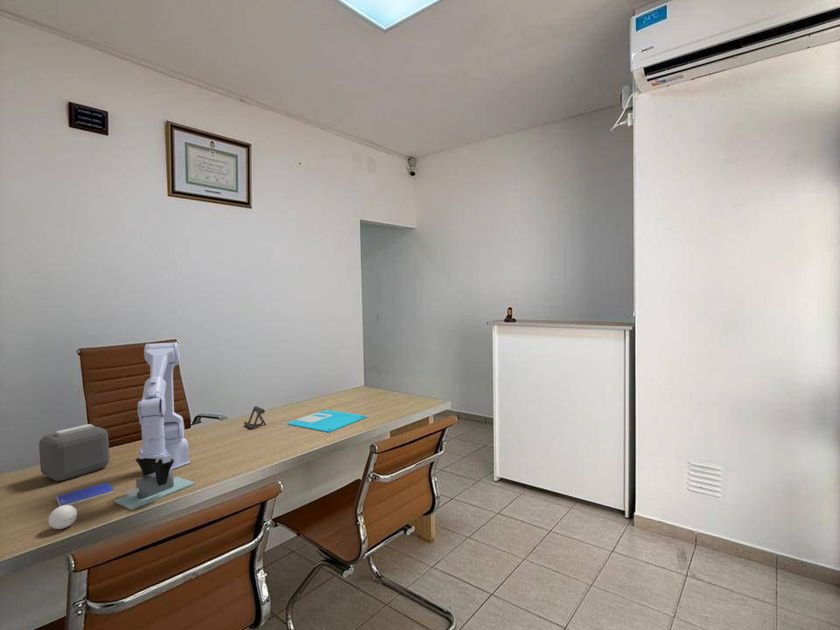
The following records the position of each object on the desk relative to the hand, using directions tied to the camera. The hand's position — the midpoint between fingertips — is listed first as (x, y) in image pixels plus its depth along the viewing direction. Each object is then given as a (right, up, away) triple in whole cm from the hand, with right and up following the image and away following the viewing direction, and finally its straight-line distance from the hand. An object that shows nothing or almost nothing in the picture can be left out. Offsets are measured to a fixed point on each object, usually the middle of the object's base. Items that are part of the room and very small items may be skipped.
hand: (155, 481), depth 124 cm
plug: (-1, -3, -1) cm, 3 cm away
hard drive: (-21, -5, 0) cm, 22 cm away
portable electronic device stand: (+4, -2, +67) cm, 67 cm away
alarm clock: (-38, -4, +18) cm, 42 cm away
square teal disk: (+36, -1, +72) cm, 80 cm away
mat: (0, -3, 0) cm, 3 cm away
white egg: (-12, -5, -17) cm, 21 cm away
